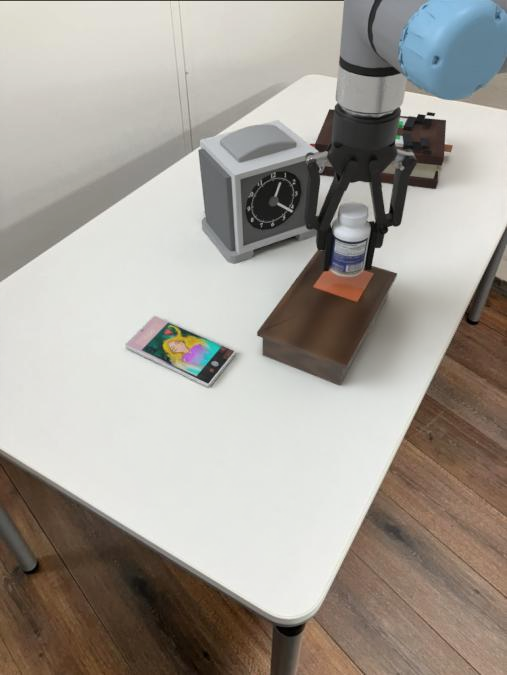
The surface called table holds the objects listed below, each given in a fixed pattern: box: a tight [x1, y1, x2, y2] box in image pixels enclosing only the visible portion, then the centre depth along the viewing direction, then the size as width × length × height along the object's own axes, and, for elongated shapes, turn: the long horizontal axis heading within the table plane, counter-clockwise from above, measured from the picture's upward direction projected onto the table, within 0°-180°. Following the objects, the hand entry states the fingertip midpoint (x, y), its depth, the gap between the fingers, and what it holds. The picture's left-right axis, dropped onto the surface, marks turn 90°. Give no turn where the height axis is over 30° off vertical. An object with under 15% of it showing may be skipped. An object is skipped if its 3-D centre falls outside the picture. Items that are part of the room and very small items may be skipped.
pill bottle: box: [329, 200, 371, 277], centre depth 71 cm, size 5×5×10 cm
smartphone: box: [124, 315, 237, 388], centre depth 74 cm, size 7×1×15 cm
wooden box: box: [256, 249, 398, 386], centre depth 76 cm, size 13×21×5 cm, turn 151°
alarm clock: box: [197, 119, 319, 264], centre depth 88 cm, size 18×13×18 cm
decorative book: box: [309, 108, 453, 190], centre depth 109 cm, size 19×8×30 cm
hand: (345, 264), depth 75 cm, fingers closed on pill bottle, 5 cm apart
